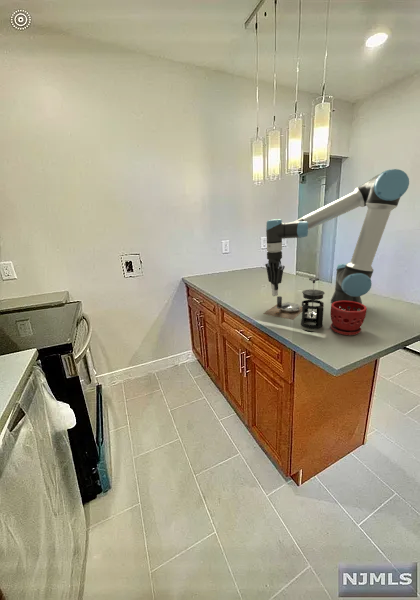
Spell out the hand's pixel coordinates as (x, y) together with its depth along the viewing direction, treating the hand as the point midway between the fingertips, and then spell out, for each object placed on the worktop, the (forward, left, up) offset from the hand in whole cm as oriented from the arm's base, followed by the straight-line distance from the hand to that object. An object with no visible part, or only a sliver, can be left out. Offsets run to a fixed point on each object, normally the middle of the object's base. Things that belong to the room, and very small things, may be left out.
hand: (274, 295), depth 133 cm
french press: (-24, +12, -9) cm, 28 cm away
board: (-6, +1, -9) cm, 11 cm away
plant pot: (-37, +8, -9) cm, 39 cm away
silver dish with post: (-7, 0, -7) cm, 10 cm away
